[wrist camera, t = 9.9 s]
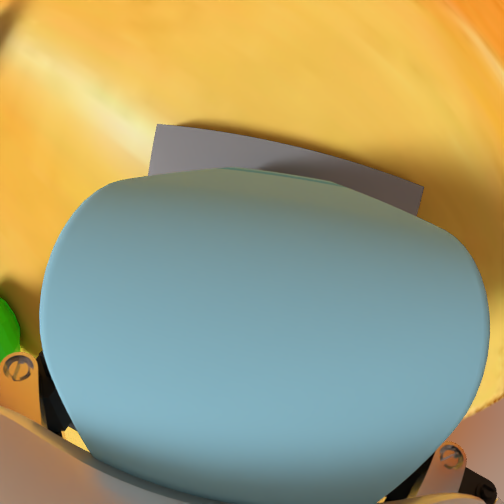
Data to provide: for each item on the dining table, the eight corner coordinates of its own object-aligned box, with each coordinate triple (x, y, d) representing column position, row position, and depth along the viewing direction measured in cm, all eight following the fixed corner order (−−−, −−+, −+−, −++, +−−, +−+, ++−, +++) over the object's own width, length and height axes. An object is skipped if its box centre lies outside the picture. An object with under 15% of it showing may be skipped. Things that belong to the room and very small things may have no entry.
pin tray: (412, 184, 14) (454, 194, 9) (332, 388, 18) (339, 434, 14) (168, 126, 14) (127, 116, 10) (147, 346, 19) (120, 386, 14)
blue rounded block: (234, 165, 13) (1, 201, 1) (329, 180, 13) (547, 285, 1) (215, 365, 17) (158, 541, 5) (285, 376, 16) (277, 560, 5)
